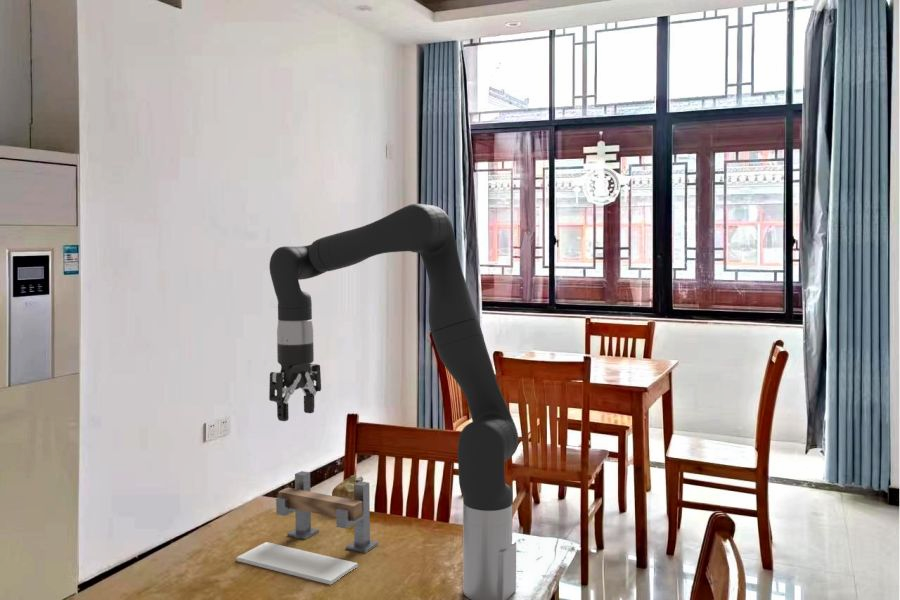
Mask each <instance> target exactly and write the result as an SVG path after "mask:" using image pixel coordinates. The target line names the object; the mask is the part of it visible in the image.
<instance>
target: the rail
mask: <svg viewBox="0 0 900 600" xmlns="http://www.w3.org/2000/svg"><path fill="white" fill-rule="evenodd" d="M277 495H278V496H277V497H283V498H288V508H291V509H296V510H301V511H306V512H311V513H312V514H317V515H322V516H327V517H333V518H336V510H337V509H339V508H340V509H345V510H349V520H351V521H355V520H357V519H359V518H360V517H362V516H363V507H362V501H358V500H352V499H347V498H341V497H336V496H332V494H331V495H330V494H324V493H318V492H313V491H310V492H309V491H304V490H298V489H295V488H293V487H285V488H284V489H281V490H280V491H277Z"/></svg>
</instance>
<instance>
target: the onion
mask: <svg viewBox="0 0 900 600" xmlns="http://www.w3.org/2000/svg"><path fill="white" fill-rule="evenodd" d="M359 481H362V482H364V478H363V476H362V475H361V476H359V477H358V476H357V475H355V474H354V475H350V476H349V477H346V479H344V480H343V481H341V482H340V483H338V484H337V485H335V487H334V488H333V489H332V492H331V496H336V497H341V498H347V499H352V500H354V484H355V483H357V482H359Z"/></svg>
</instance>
